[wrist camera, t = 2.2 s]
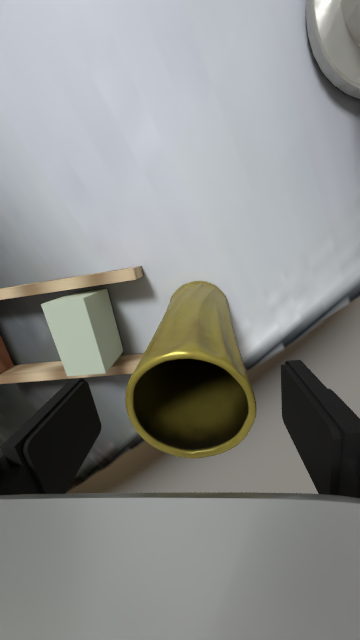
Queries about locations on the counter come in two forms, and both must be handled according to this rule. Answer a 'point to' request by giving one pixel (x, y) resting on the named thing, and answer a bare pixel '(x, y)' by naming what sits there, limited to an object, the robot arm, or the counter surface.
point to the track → (6, 372)
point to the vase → (192, 379)
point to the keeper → (84, 332)
